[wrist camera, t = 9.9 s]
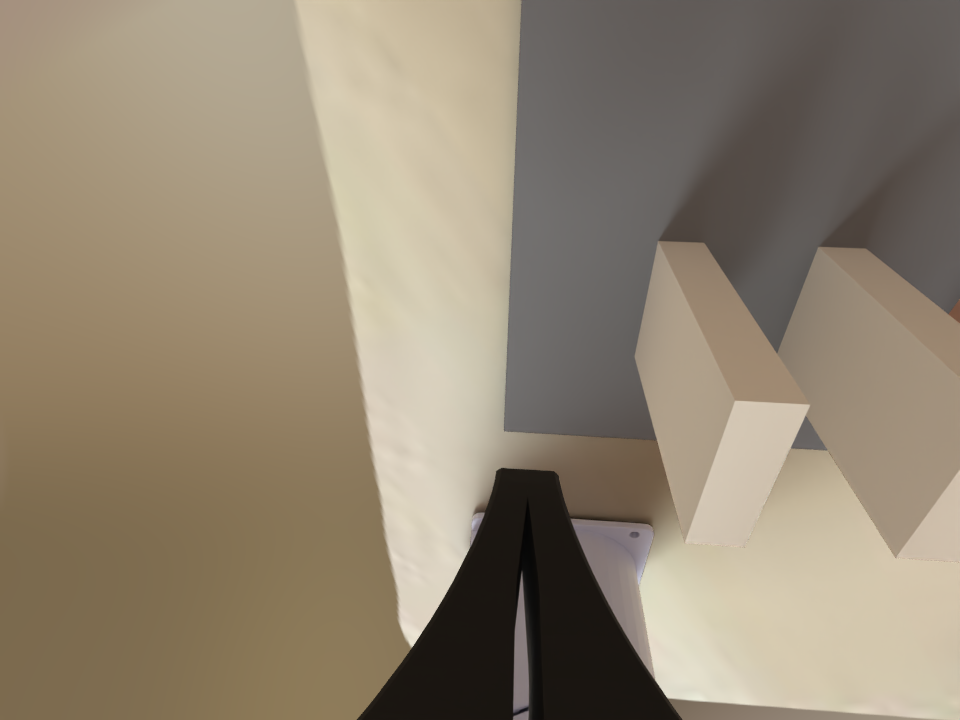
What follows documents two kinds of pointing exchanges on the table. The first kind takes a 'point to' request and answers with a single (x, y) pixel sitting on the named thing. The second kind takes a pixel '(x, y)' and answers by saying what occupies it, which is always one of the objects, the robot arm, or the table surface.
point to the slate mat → (715, 174)
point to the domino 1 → (713, 396)
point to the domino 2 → (883, 396)
